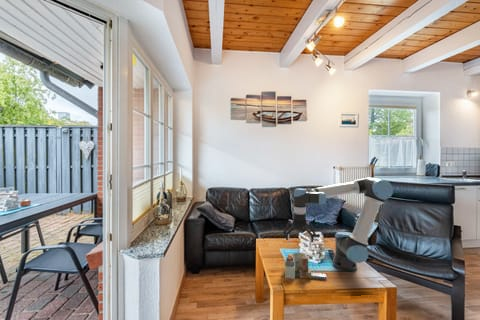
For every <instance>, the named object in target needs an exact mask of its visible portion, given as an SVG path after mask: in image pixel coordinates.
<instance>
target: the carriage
mask: <svg viewBox="0 0 480 320" xmlns="http://www.w3.org/2000/svg"><path fill="white" fill-rule="evenodd" d="M299 273H300V277H299V279H308V280H312V278H311V273H312V269H311V267H309V256H308V255H306V256H302V267H299Z"/></svg>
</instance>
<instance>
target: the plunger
mask: <svg viewBox="0 0 480 320" xmlns="http://www.w3.org/2000/svg"><path fill="white" fill-rule="evenodd" d="M287 257H288V260H289V261H291V260H292V257H293V254H291V253H287Z"/></svg>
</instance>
